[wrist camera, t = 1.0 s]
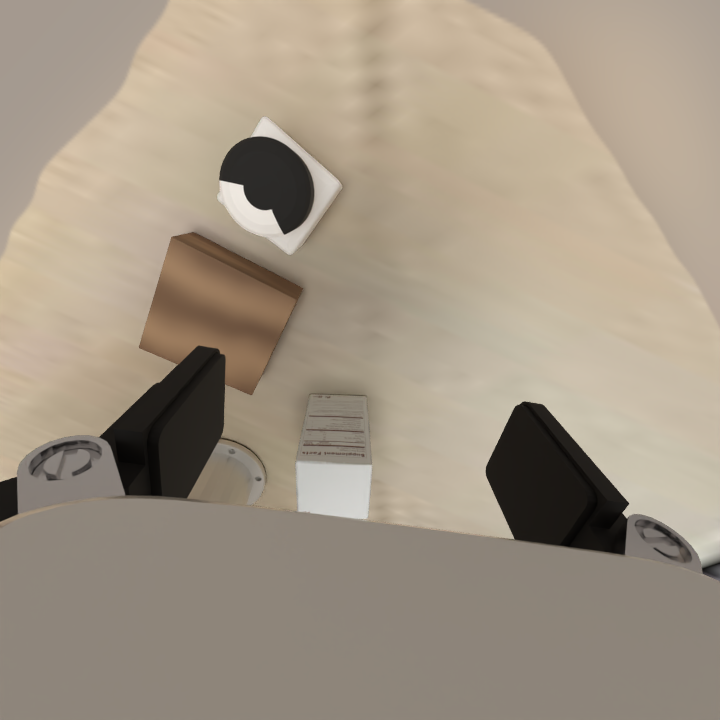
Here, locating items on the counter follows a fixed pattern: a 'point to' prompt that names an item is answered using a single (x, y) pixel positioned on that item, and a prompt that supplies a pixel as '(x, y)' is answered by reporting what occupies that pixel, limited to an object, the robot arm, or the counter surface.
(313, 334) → the counter surface
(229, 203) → the medicine bottle
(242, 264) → the walnut block
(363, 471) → the supplement box
